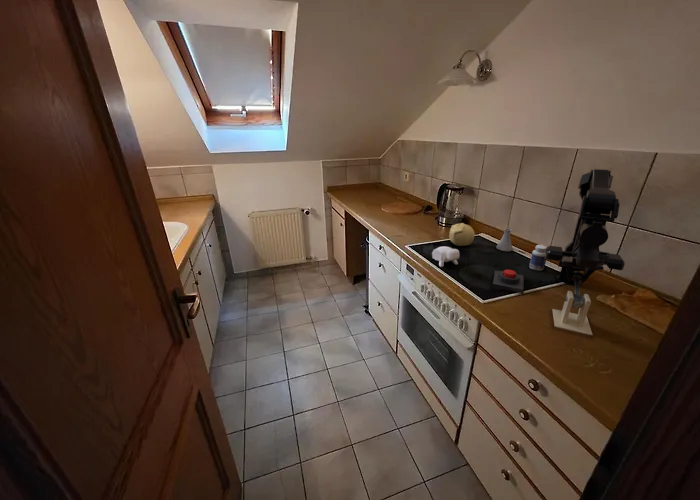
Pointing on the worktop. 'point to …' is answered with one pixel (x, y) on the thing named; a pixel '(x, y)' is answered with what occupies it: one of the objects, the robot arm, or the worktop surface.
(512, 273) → the button
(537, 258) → the pill bottle
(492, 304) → the worktop surface
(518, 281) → the button housing
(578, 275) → the lever
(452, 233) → the sculpture
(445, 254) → the white animal figurine
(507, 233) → the flask
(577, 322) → the beige u-shaped holder
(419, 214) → the worktop surface
